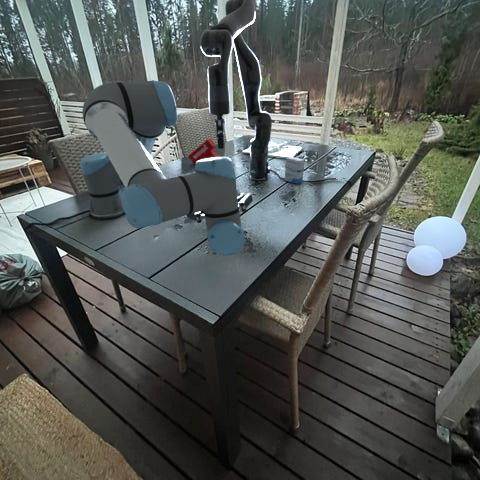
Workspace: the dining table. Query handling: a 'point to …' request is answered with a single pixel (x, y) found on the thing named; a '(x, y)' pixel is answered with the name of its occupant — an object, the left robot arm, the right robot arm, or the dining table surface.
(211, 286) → the dining table surface
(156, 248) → the dining table surface
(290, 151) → the relief map
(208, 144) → the toy gun
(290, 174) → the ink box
